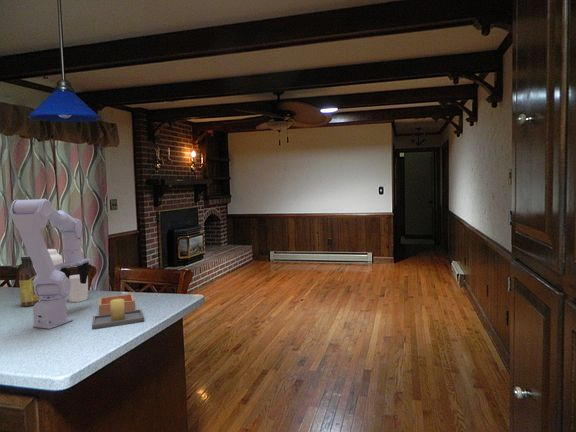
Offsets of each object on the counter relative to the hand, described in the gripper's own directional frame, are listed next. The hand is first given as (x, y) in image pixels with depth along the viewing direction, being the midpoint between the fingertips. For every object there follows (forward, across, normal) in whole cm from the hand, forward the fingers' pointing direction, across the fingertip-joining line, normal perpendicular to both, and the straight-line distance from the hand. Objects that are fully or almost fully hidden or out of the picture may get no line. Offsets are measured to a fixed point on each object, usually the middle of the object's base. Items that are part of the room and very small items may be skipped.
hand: (75, 285), depth 156 cm
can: (+10, +16, +34) cm, 39 cm away
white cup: (+10, +12, +12) cm, 20 cm away
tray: (+9, -6, -26) cm, 28 cm away
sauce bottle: (+10, +1, +26) cm, 28 cm away
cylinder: (+9, -6, -26) cm, 28 cm away
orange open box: (+9, +5, -15) cm, 19 cm away
